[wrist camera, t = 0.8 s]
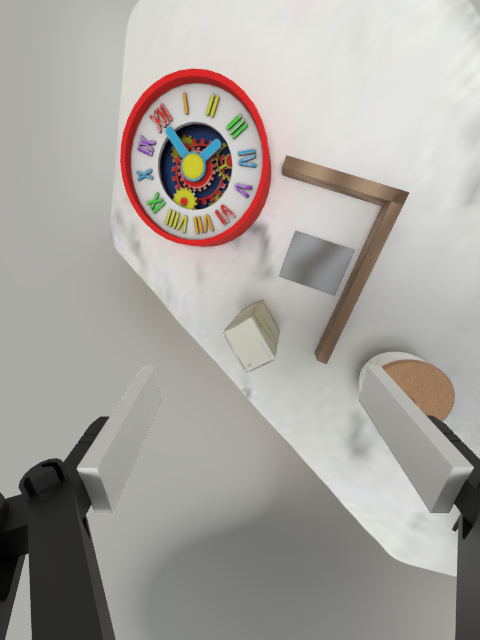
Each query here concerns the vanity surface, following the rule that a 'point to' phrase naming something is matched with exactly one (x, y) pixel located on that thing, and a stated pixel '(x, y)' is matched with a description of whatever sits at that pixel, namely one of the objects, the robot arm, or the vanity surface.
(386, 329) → the vanity surface
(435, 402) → the lidded jar
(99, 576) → the robot arm
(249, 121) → the toy clock
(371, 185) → the walnut l-shaped corner bracket
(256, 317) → the skincare box
